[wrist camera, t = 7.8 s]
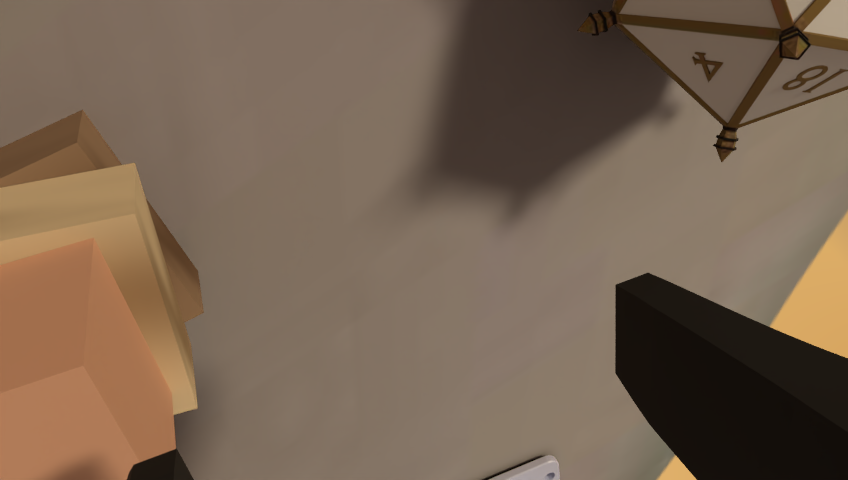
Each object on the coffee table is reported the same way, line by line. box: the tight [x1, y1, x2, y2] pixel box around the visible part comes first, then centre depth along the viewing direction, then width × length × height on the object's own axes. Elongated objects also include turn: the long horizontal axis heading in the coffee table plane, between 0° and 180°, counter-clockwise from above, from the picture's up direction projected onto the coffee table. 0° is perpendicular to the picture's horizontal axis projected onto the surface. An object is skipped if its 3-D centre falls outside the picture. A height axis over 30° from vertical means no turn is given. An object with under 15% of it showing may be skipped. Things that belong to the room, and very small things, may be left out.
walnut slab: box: [0, 110, 204, 322], centre depth 18 cm, size 6×6×2 cm
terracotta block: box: [0, 237, 176, 480], centre depth 13 cm, size 4×4×4 cm
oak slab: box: [0, 163, 198, 415], centre depth 16 cm, size 6×6×2 cm
